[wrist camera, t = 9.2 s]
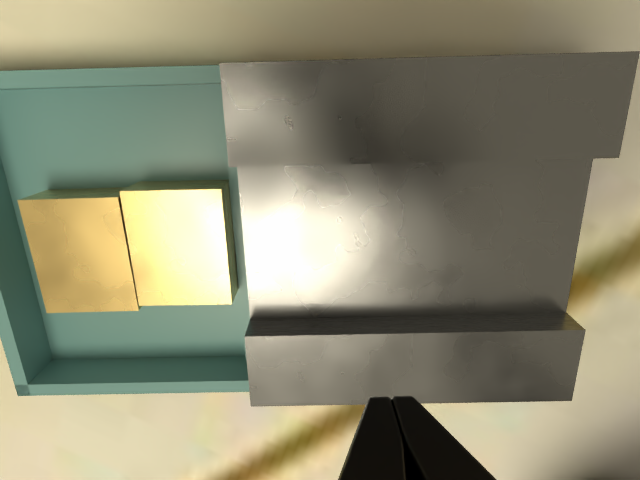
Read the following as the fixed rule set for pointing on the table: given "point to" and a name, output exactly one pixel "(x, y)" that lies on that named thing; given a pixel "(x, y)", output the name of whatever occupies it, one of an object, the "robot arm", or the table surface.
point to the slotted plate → (417, 221)
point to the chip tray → (113, 172)
